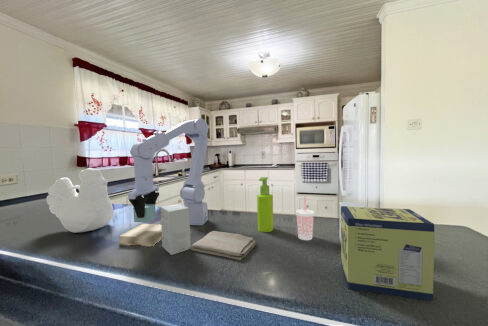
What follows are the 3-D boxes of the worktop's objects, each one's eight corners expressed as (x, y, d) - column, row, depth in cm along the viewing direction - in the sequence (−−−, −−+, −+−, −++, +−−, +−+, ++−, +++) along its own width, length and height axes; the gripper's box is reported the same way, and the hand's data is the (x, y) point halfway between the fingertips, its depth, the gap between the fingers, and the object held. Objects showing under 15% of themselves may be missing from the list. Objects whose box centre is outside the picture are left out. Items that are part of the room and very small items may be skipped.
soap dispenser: (254, 232, 79) (253, 178, 78) (260, 225, 86) (259, 176, 84) (270, 234, 77) (269, 178, 76) (274, 227, 83) (274, 176, 82)
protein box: (339, 264, 56) (339, 205, 55) (410, 272, 51) (411, 208, 50) (346, 289, 46) (346, 217, 45) (435, 302, 41) (437, 223, 40)
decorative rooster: (123, 224, 92) (120, 166, 91) (88, 238, 77) (84, 169, 75) (79, 220, 98) (75, 166, 97) (38, 233, 83) (33, 169, 82)
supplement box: (363, 240, 69) (364, 202, 69) (368, 251, 62) (369, 208, 62) (338, 238, 72) (338, 201, 71) (341, 248, 65) (341, 206, 64)
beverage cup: (317, 237, 73) (317, 196, 73) (309, 242, 69) (309, 199, 68) (301, 232, 77) (300, 194, 77) (292, 238, 73) (292, 197, 72)
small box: (191, 249, 66) (189, 207, 66) (171, 255, 62) (169, 211, 62) (180, 241, 73) (179, 203, 72) (161, 246, 69) (159, 206, 68)
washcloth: (243, 262, 58) (243, 251, 58) (189, 252, 65) (188, 242, 65) (257, 245, 69) (257, 235, 69) (210, 237, 76) (209, 229, 76)
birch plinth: (171, 232, 81) (170, 224, 80) (152, 246, 69) (152, 237, 69) (142, 231, 82) (141, 223, 82) (119, 245, 71) (118, 236, 70)
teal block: (155, 217, 77) (155, 204, 77) (147, 222, 72) (146, 207, 72) (143, 217, 78) (142, 203, 78) (134, 222, 73) (133, 207, 73)
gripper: (146, 174, 82) (147, 209, 83) (118, 179, 68) (120, 221, 69) (163, 174, 81) (164, 209, 82) (138, 179, 67) (140, 222, 68)
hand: (145, 215), depth 75 cm, fingers closed on teal block, 5 cm apart
